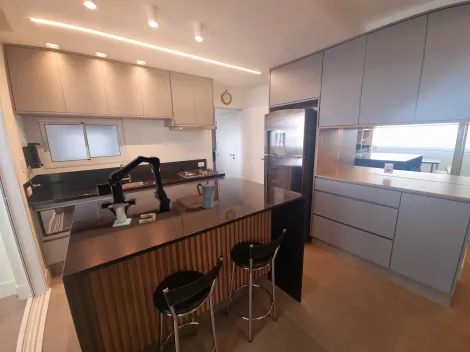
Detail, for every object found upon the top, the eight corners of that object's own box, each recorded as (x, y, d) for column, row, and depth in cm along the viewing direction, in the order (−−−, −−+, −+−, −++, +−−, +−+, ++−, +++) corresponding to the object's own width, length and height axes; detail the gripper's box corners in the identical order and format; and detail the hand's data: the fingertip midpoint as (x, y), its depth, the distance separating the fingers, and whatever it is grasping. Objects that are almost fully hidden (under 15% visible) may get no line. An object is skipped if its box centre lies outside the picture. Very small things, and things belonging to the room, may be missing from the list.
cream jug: (126, 221, 126) (124, 208, 124) (116, 223, 124) (114, 209, 122) (128, 217, 133) (126, 204, 131) (119, 218, 131) (117, 205, 129)
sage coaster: (131, 218, 133) (131, 218, 133) (129, 224, 125) (129, 223, 125) (115, 221, 130) (115, 220, 130) (112, 226, 122) (112, 226, 122)
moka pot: (215, 209, 145) (214, 182, 141) (195, 208, 148) (193, 182, 144) (218, 205, 154) (217, 179, 150) (200, 204, 158) (198, 179, 153)
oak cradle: (155, 214, 139) (155, 212, 138) (154, 221, 128) (154, 219, 128) (141, 216, 136) (141, 214, 136) (139, 223, 126) (139, 221, 125)
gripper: (136, 187, 134) (139, 209, 137) (104, 190, 128) (107, 213, 131) (133, 191, 123) (137, 215, 127) (98, 195, 118) (103, 220, 121)
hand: (121, 216), depth 127 cm, fingers closed on cream jug, 5 cm apart
